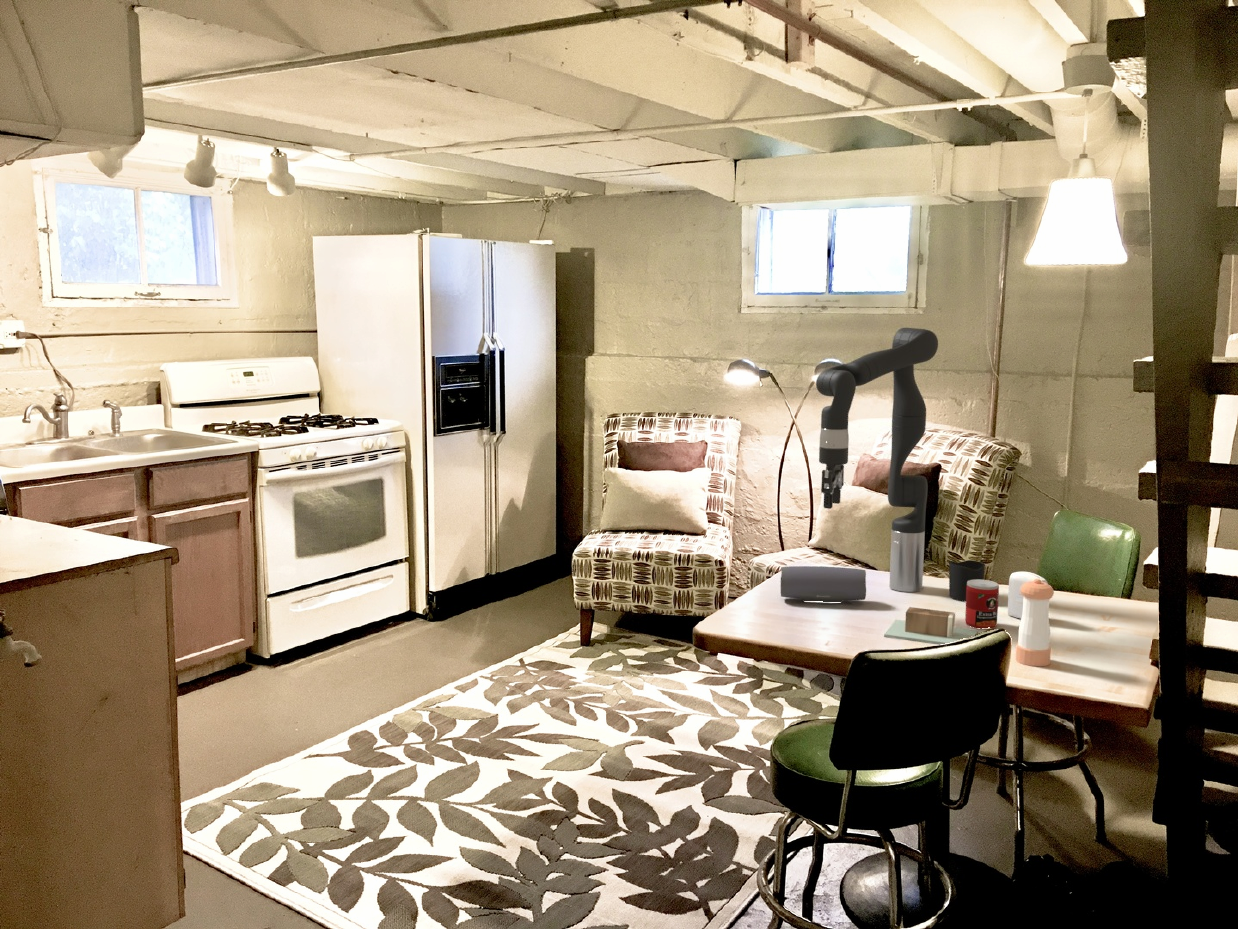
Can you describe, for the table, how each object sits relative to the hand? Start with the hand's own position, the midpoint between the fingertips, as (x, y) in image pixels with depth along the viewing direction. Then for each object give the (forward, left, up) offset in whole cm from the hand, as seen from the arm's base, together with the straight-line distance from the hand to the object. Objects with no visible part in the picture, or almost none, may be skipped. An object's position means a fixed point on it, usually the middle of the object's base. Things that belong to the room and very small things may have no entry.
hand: (832, 505), depth 264 cm
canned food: (-2, +39, -28) cm, 48 cm away
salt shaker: (+22, +53, -28) cm, 64 cm away
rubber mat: (+12, +29, -28) cm, 42 cm away
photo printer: (-13, +49, -28) cm, 58 cm away
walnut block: (+12, +23, -25) cm, 36 cm away
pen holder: (-27, +32, -28) cm, 50 cm away
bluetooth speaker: (-5, -3, -28) cm, 29 cm away
